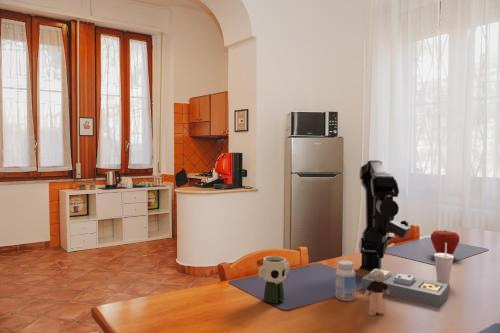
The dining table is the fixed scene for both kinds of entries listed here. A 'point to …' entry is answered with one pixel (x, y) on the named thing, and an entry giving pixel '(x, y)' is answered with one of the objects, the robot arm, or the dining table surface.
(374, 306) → the grandmother figurine
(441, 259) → the smoothie
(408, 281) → the button two
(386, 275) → the button one
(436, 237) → the apple
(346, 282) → the pill bottle
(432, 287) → the button three
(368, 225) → the robot arm
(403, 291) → the button panel
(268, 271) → the character mug
